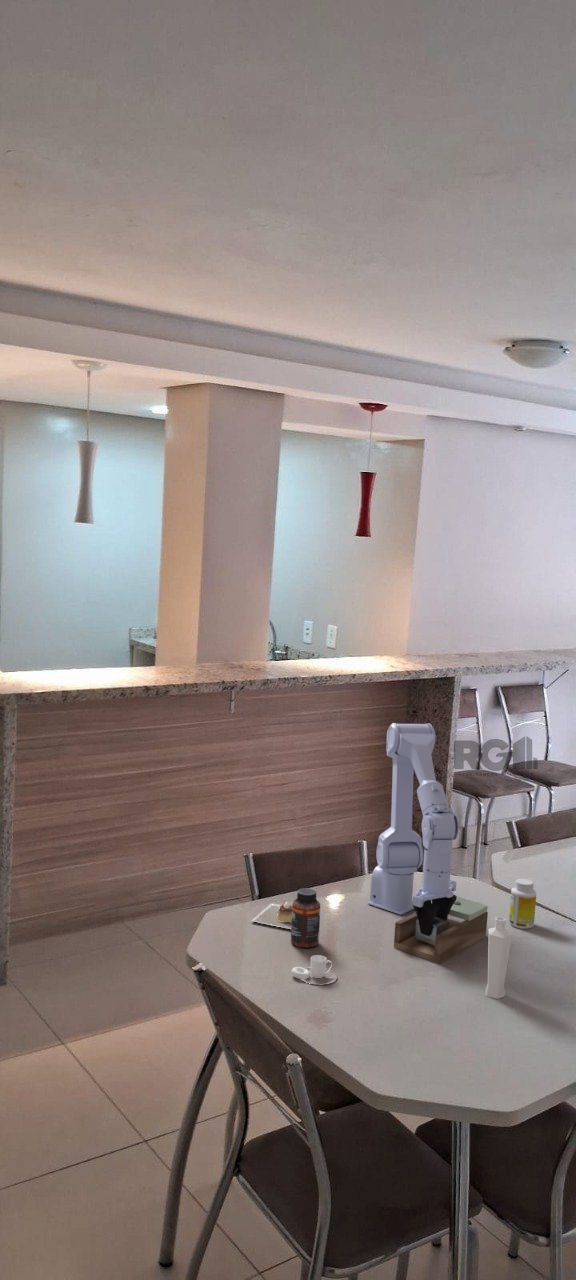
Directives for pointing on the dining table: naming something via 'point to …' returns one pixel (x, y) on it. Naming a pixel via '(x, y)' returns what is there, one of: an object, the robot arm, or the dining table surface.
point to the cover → (466, 909)
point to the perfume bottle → (497, 958)
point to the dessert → (279, 914)
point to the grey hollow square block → (432, 930)
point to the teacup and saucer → (312, 968)
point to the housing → (439, 937)
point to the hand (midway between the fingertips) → (432, 930)
